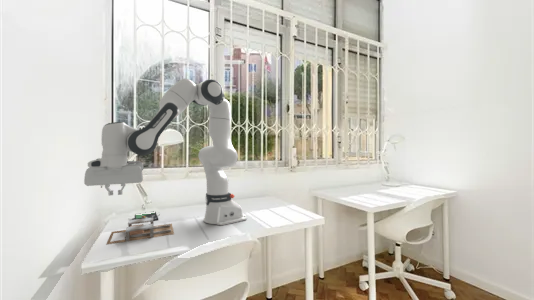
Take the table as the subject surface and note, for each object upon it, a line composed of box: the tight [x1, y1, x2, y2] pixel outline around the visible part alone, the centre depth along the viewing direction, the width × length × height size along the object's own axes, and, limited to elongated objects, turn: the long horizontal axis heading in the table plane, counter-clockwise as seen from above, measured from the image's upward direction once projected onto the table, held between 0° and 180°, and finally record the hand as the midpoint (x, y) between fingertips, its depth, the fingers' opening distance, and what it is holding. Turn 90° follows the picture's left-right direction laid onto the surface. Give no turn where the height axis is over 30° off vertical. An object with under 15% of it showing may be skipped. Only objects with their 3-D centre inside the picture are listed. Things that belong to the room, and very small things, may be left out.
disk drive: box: [134, 211, 159, 225], centre depth 123 cm, size 10×3×15 cm
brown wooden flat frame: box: [105, 218, 175, 246], centre depth 102 cm, size 24×14×6 cm, turn 116°
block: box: [129, 223, 144, 235], centre depth 101 cm, size 5×5×3 cm
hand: (115, 194), depth 98 cm, fingers closed
